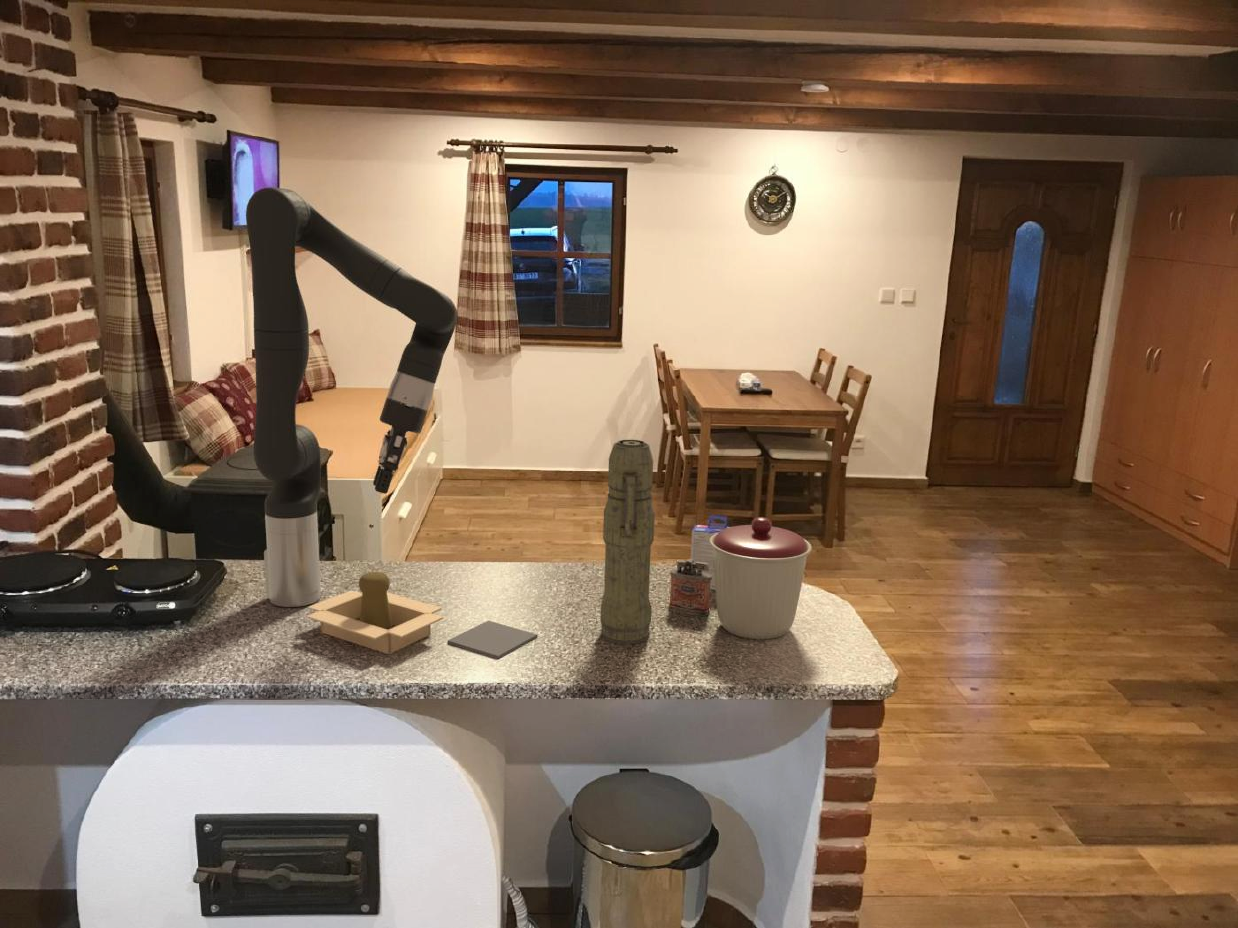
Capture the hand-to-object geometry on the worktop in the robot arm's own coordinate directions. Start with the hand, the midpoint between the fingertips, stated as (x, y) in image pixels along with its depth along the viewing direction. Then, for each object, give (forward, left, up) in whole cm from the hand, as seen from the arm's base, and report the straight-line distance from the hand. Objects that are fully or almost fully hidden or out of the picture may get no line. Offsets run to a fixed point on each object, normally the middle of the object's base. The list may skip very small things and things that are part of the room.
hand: (379, 489), depth 173 cm
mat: (+23, +4, -24) cm, 33 cm away
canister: (+58, +35, -24) cm, 72 cm away
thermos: (+40, +19, -24) cm, 51 cm away
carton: (+4, -6, -24) cm, 25 cm away
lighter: (+44, +36, -24) cm, 62 cm away
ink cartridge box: (+42, +51, -24) cm, 71 cm away
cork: (+4, -6, -24) cm, 25 cm away
